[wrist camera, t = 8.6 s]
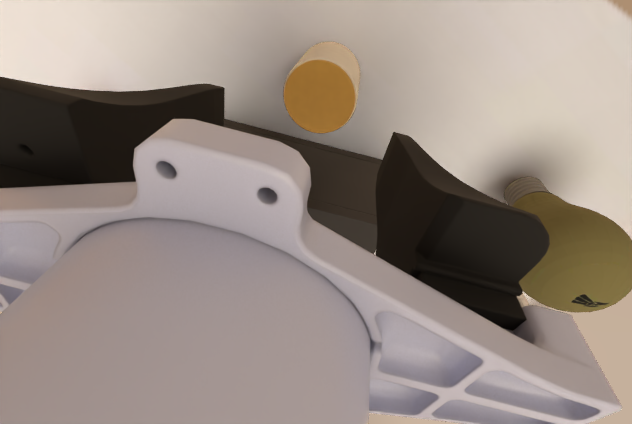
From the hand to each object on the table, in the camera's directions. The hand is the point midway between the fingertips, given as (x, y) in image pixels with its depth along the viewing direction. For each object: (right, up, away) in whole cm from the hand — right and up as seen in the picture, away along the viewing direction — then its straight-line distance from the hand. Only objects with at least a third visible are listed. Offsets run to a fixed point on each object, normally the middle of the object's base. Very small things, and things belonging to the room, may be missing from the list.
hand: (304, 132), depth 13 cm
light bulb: (+15, -1, +10) cm, 18 cm away
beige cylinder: (+1, +5, +7) cm, 9 cm away
